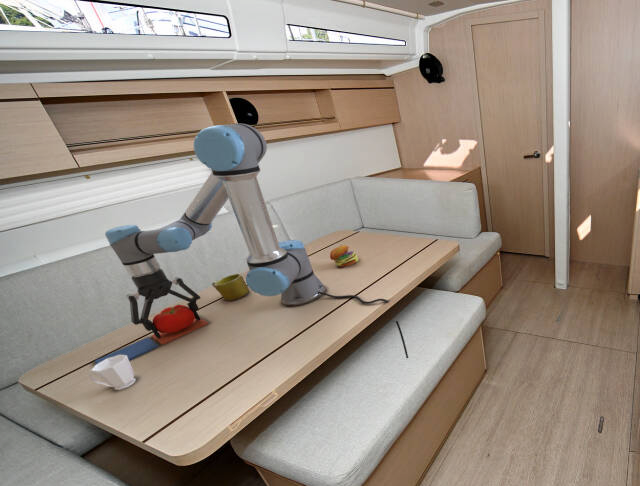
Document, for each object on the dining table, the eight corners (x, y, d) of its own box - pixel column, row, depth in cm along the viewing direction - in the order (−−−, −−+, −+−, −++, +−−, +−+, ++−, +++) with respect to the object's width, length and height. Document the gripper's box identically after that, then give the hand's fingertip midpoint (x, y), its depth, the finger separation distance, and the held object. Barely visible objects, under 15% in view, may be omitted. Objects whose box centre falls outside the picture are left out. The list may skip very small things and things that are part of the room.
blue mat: (158, 346, 116) (158, 345, 116) (104, 372, 106) (103, 370, 106) (148, 338, 121) (147, 337, 121) (95, 362, 111) (94, 360, 111)
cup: (130, 390, 98) (113, 368, 94) (88, 398, 96) (70, 376, 93) (148, 373, 104) (133, 351, 100) (109, 380, 102) (93, 358, 99)
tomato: (177, 337, 118) (165, 319, 115) (151, 336, 120) (139, 318, 117) (206, 319, 127) (197, 302, 124) (182, 318, 129) (172, 301, 126)
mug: (259, 285, 147) (239, 268, 141) (240, 304, 140) (218, 287, 134) (242, 287, 153) (222, 271, 147) (223, 305, 146) (202, 289, 140)
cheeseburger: (356, 266, 162) (345, 247, 157) (335, 273, 162) (323, 255, 158) (361, 256, 171) (351, 239, 166) (341, 264, 171) (330, 246, 167)
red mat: (208, 323, 126) (207, 322, 126) (162, 345, 117) (161, 343, 116) (196, 317, 131) (196, 315, 131) (152, 337, 122) (151, 335, 121)
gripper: (184, 256, 125) (212, 308, 134) (92, 286, 107) (131, 343, 117) (193, 259, 121) (221, 313, 130) (99, 291, 103) (139, 350, 113)
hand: (178, 327), depth 123 cm, fingers closed on tomato, 11 cm apart
